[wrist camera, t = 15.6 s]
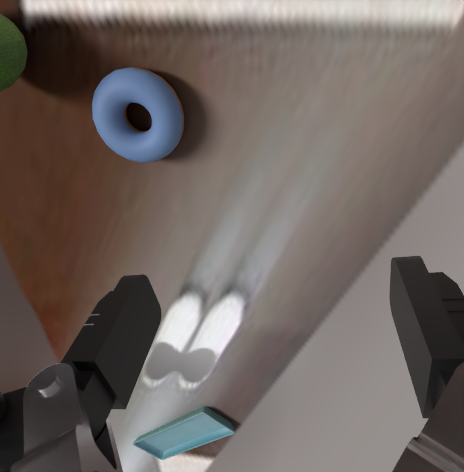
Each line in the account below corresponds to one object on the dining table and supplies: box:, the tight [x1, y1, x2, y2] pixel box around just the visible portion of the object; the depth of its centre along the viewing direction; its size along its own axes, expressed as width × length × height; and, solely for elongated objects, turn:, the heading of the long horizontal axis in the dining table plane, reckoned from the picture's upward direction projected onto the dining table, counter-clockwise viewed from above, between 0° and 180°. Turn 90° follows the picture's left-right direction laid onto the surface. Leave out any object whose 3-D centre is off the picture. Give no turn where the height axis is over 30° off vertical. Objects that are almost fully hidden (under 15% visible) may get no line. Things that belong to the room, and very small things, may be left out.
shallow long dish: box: [133, 407, 235, 460], centre depth 79 cm, size 26×9×2 cm, turn 136°
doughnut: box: [92, 67, 184, 163], centre depth 39 cm, size 10×10×5 cm
